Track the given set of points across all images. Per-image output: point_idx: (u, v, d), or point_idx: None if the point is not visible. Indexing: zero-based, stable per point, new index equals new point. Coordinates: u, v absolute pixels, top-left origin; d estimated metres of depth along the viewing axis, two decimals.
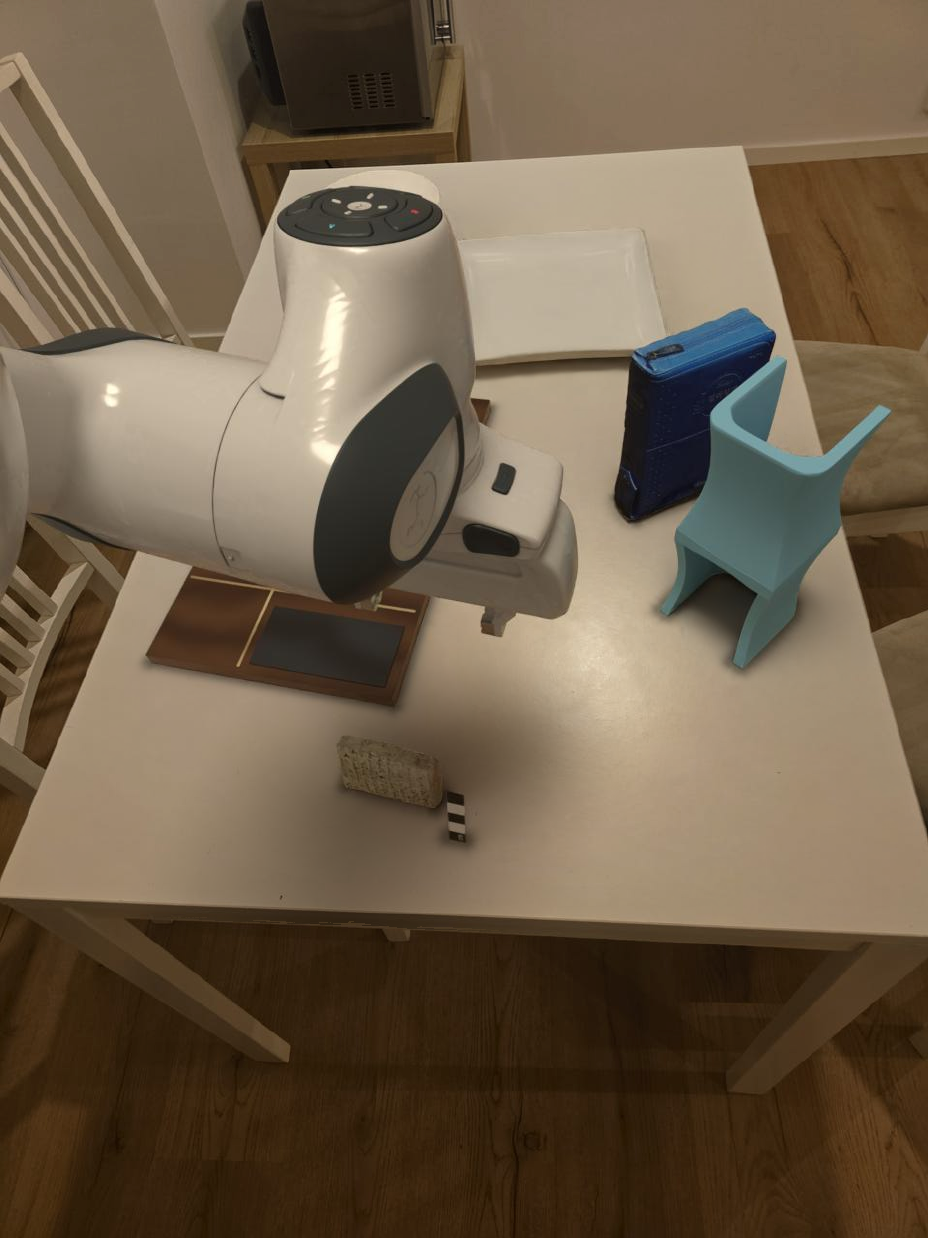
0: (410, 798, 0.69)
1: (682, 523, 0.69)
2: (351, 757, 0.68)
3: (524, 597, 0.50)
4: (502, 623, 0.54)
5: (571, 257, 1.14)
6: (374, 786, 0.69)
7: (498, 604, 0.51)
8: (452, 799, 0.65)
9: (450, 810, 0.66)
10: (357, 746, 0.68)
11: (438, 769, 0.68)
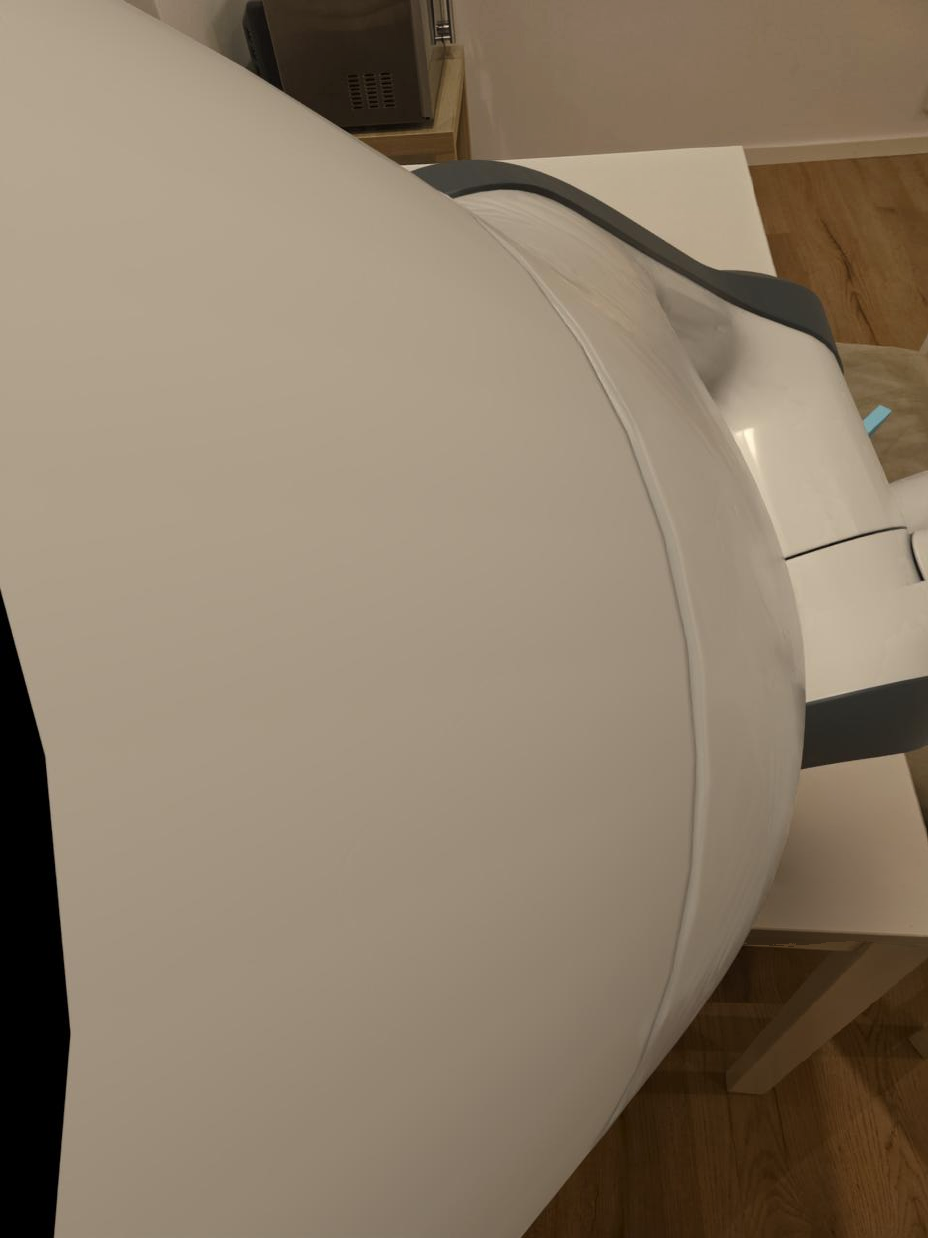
0: None
1: None
2: None
3: None
4: None
5: None
6: None
7: None
8: None
9: None
10: None
11: None
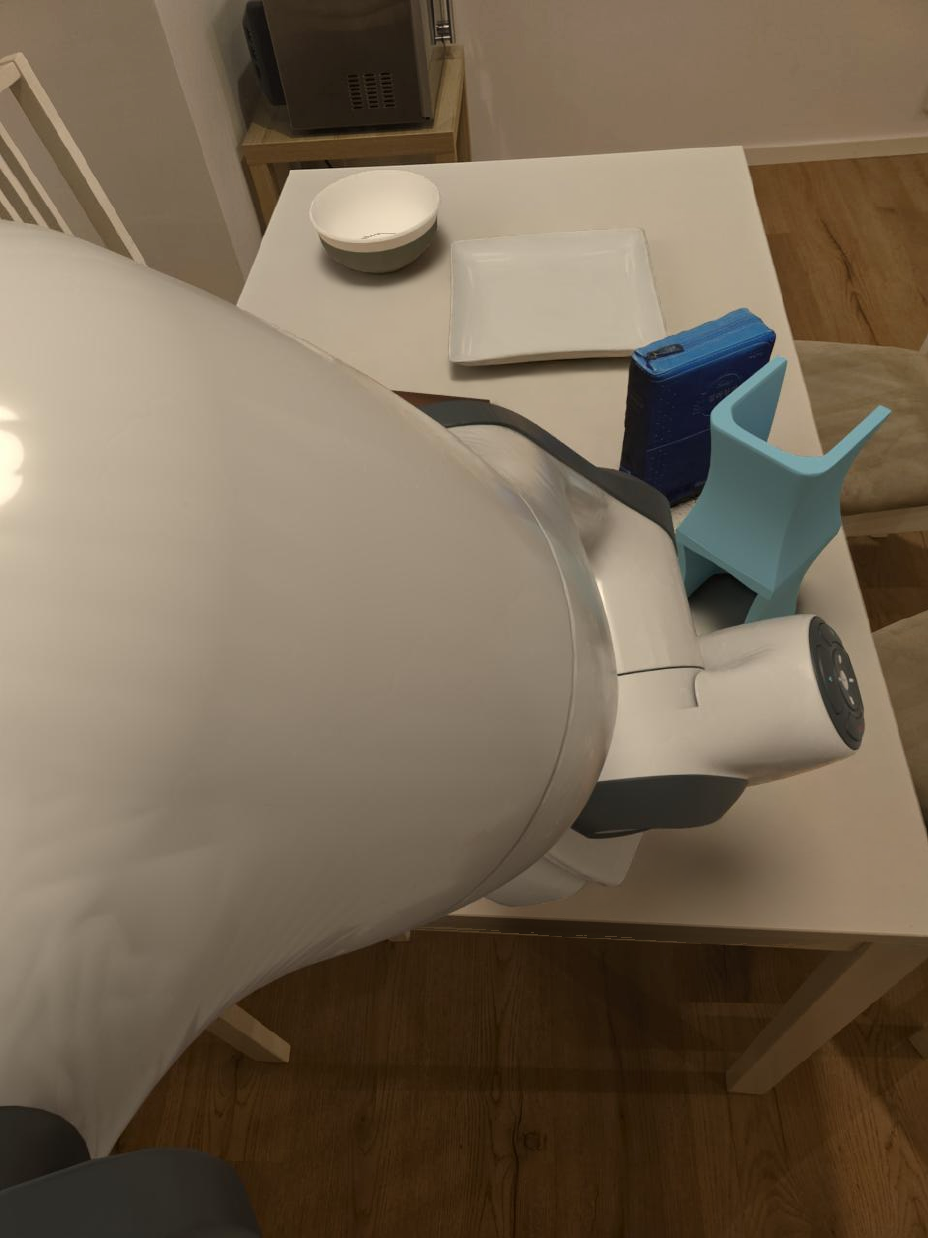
0: None
1: (682, 523, 0.69)
2: None
3: None
4: None
5: (571, 257, 1.14)
6: None
7: None
8: None
9: None
10: None
11: None
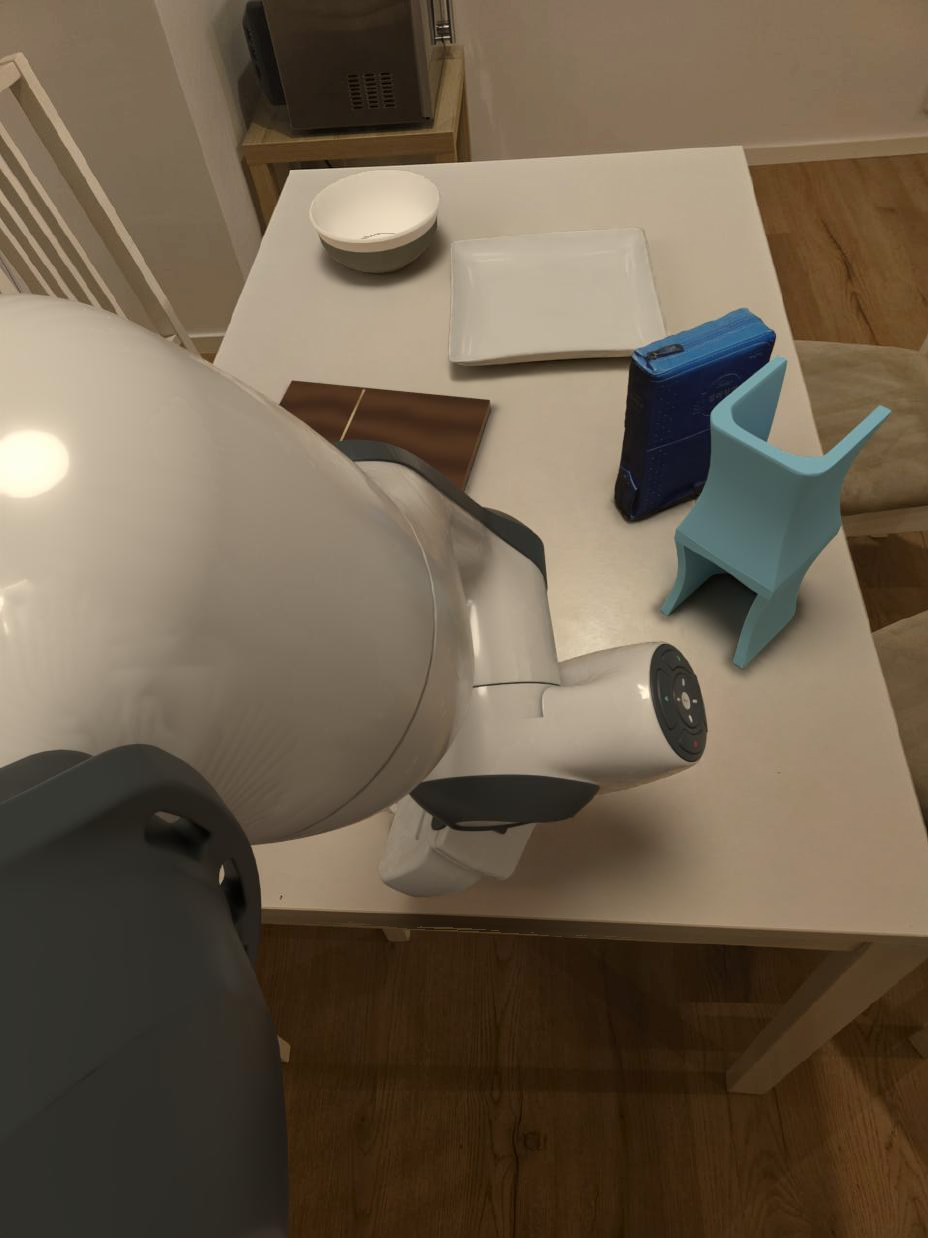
0: None
1: (682, 523, 0.69)
2: None
3: (399, 843, 0.58)
4: None
5: (571, 257, 1.14)
6: None
7: (395, 823, 0.60)
8: None
9: None
10: None
11: None
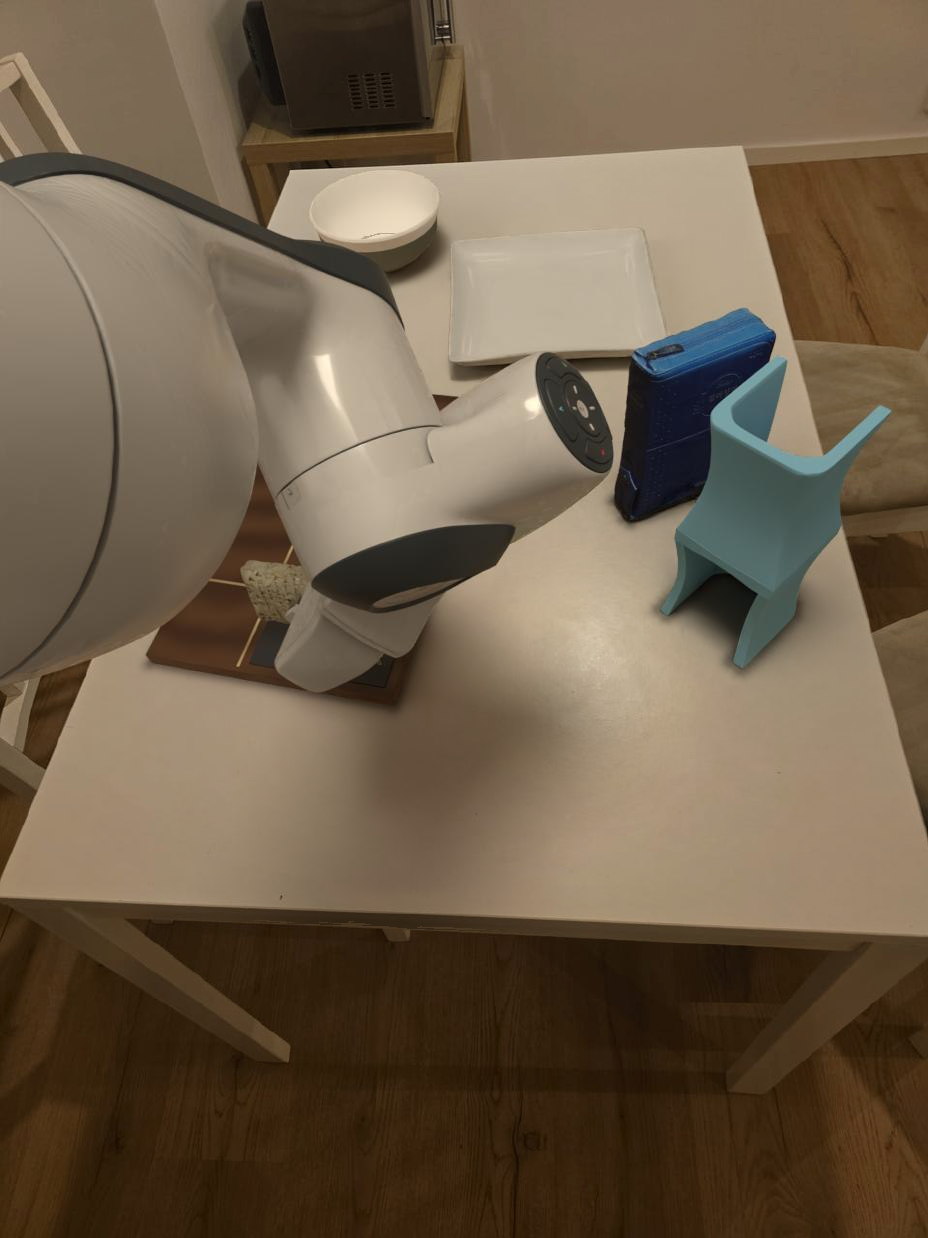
0: None
1: (682, 523, 0.69)
2: (256, 581, 0.63)
3: (296, 631, 0.54)
4: (294, 610, 0.60)
5: (571, 257, 1.14)
6: (285, 612, 0.65)
7: (295, 616, 0.56)
8: None
9: None
10: (262, 568, 0.63)
11: None
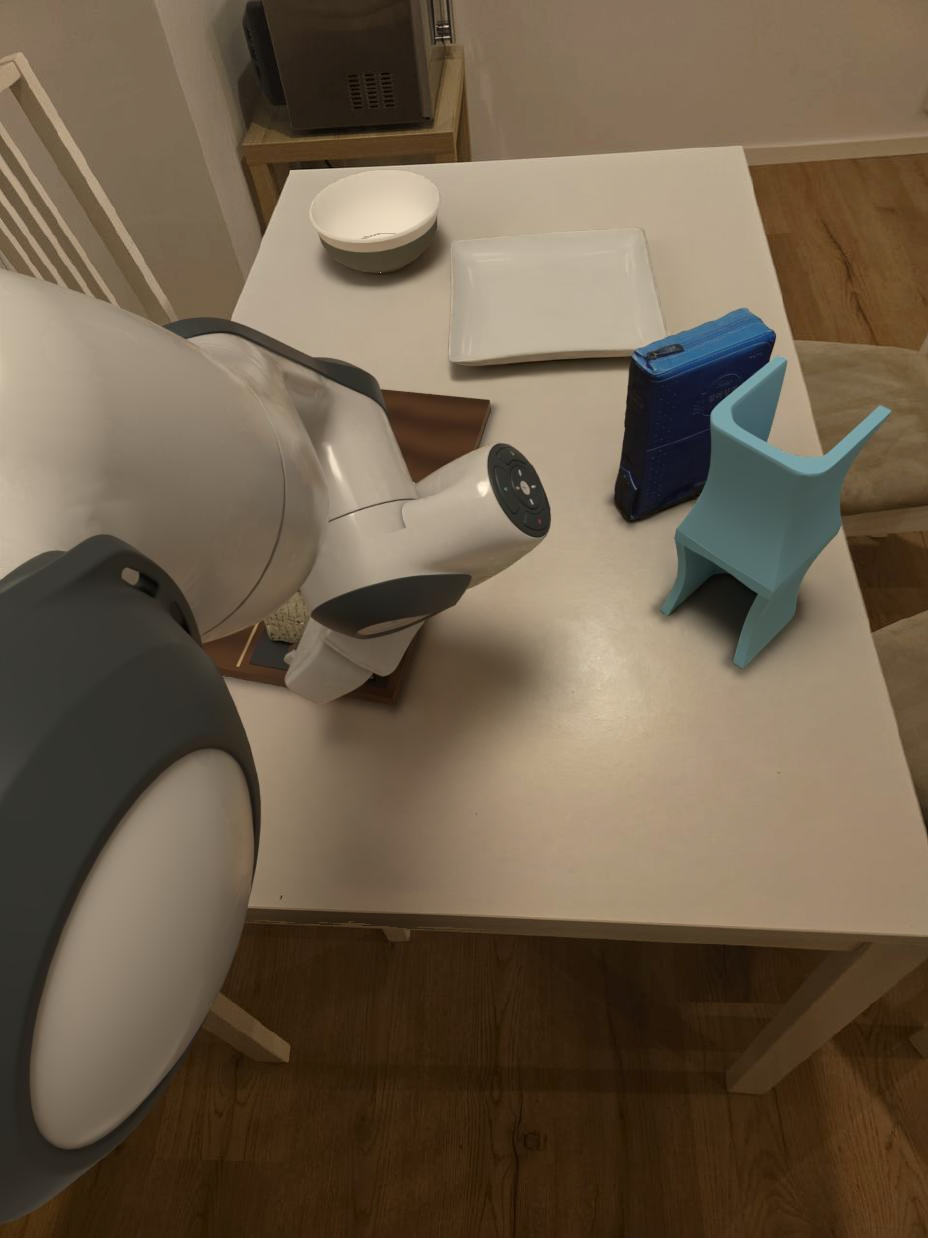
0: None
1: (682, 523, 0.69)
2: None
3: (302, 653, 0.66)
4: (292, 655, 0.71)
5: (571, 257, 1.14)
6: (293, 632, 0.77)
7: (301, 641, 0.68)
8: None
9: None
10: None
11: None
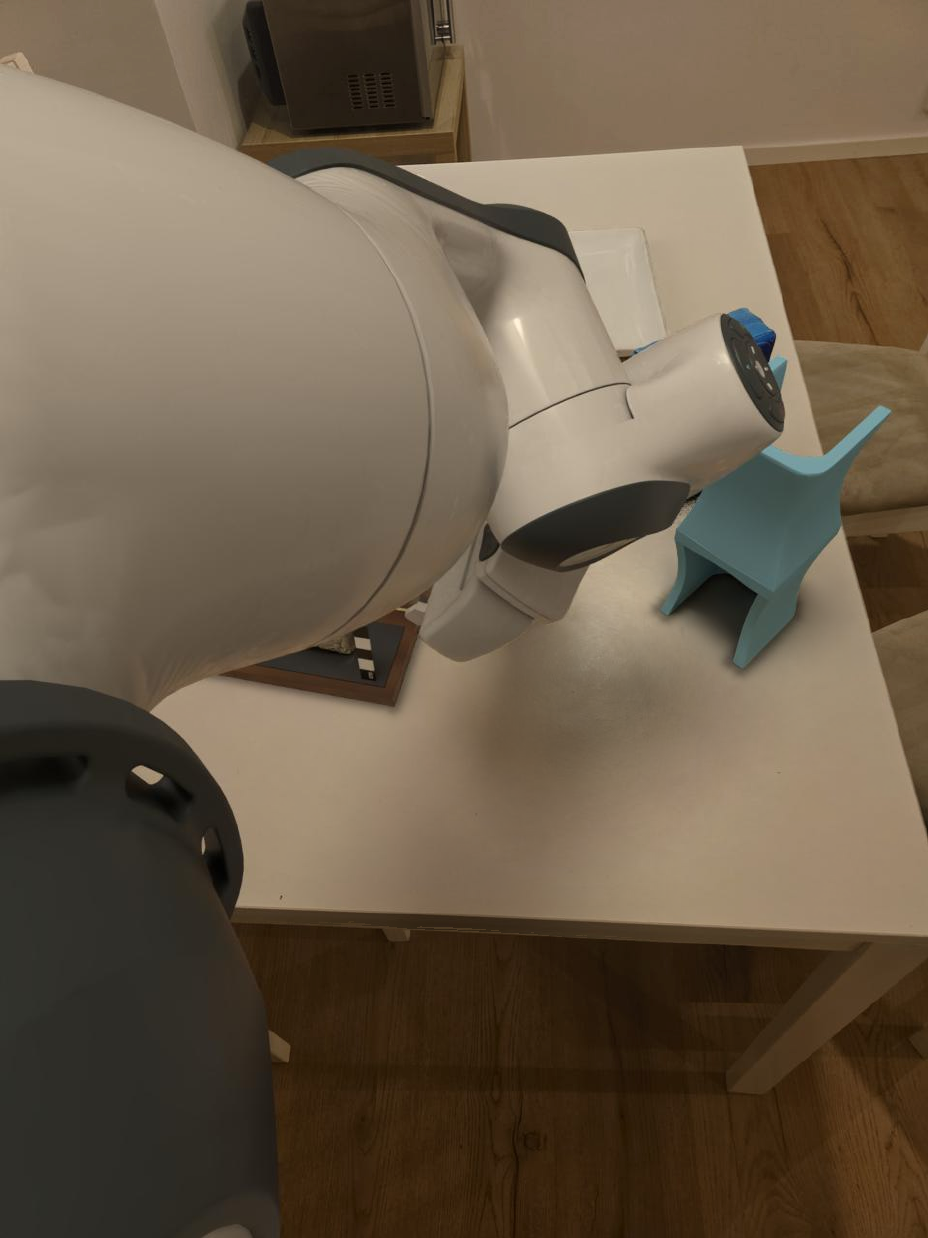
0: (326, 643, 0.77)
1: (682, 523, 0.69)
2: None
3: (441, 601, 0.54)
4: (417, 608, 0.59)
5: None
6: None
7: (436, 587, 0.56)
8: (358, 632, 0.72)
9: (358, 645, 0.74)
10: None
11: None
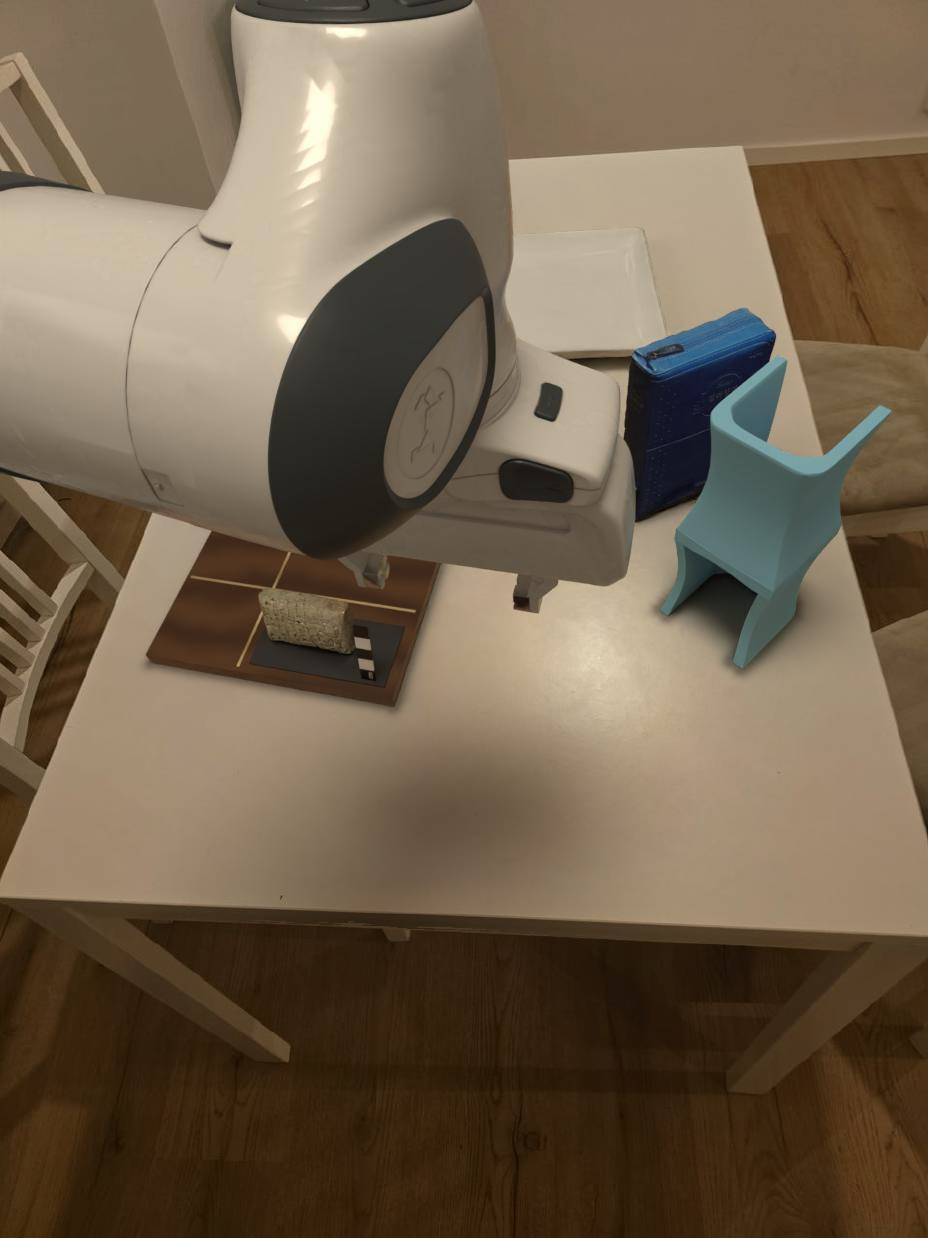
0: (326, 643, 0.77)
1: (682, 523, 0.69)
2: (271, 604, 0.76)
3: (571, 559, 0.40)
4: (540, 595, 0.44)
5: (571, 257, 1.14)
6: (293, 632, 0.77)
7: (538, 570, 0.41)
8: (358, 633, 0.72)
9: (358, 645, 0.74)
10: (276, 594, 0.76)
11: (349, 613, 0.75)
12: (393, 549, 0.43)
